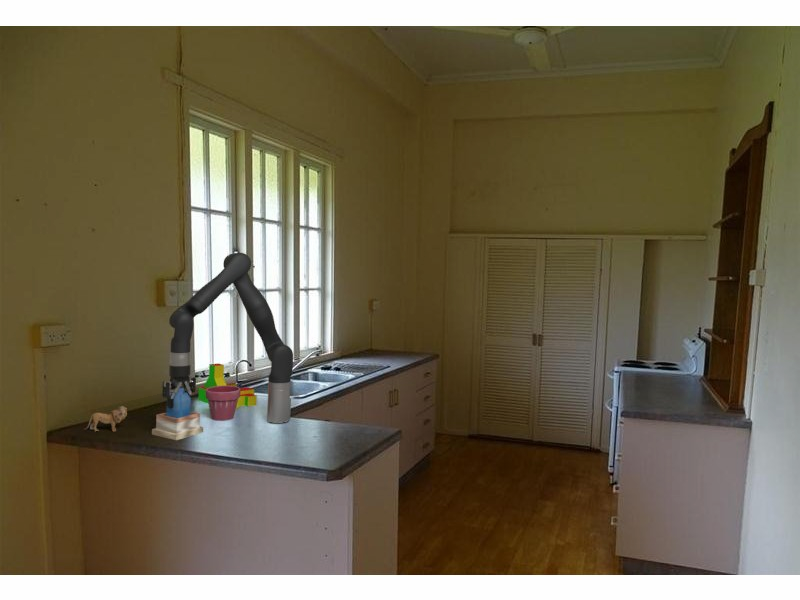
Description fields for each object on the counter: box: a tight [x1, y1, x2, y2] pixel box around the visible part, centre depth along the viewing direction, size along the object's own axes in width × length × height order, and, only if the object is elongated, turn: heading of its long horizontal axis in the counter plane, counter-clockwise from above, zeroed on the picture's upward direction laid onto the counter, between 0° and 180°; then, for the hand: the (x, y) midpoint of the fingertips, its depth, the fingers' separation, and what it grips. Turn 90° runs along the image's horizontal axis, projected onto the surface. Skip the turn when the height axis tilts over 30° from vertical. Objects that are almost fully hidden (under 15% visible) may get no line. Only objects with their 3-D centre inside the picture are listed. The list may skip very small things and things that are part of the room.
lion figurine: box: [83, 406, 128, 432], centre depth 209 cm, size 15×5×9 cm, turn 110°
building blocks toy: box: [198, 363, 258, 409], centre depth 262 cm, size 19×25×18 cm
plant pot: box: [206, 386, 241, 421], centre depth 234 cm, size 14×14×13 cm
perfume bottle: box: [166, 385, 192, 418], centre depth 209 cm, size 6×6×12 cm
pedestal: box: [151, 411, 204, 441], centre depth 209 cm, size 13×13×8 cm
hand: (179, 406), depth 209 cm, fingers open, 7 cm apart
